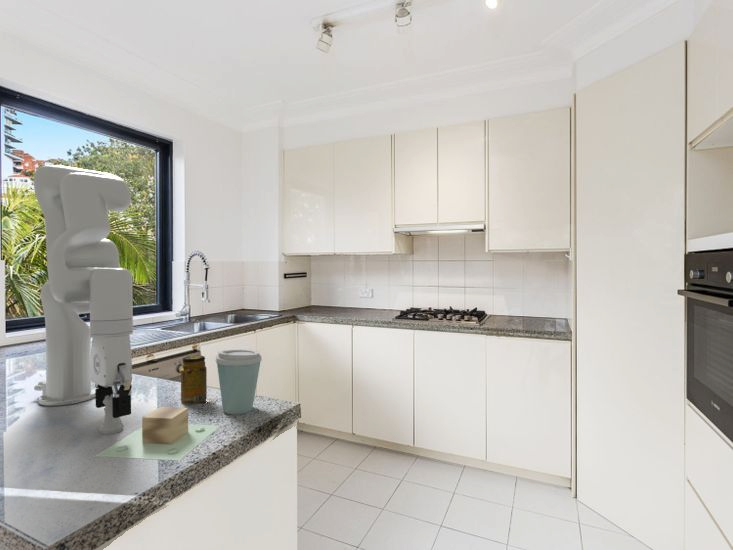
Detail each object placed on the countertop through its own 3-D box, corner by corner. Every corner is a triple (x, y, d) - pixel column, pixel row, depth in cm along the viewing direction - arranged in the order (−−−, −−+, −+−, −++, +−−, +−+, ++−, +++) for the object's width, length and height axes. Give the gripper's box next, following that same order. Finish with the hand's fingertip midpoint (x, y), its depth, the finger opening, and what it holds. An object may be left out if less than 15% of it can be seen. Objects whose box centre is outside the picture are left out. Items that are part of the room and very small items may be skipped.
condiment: (184, 399, 107) (184, 354, 107) (218, 399, 108) (218, 353, 108) (174, 409, 100) (174, 360, 100) (210, 408, 101) (210, 360, 101)
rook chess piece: (102, 431, 86) (102, 393, 86) (126, 428, 88) (126, 391, 88) (96, 440, 82) (96, 400, 82) (122, 437, 84) (122, 398, 83)
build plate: (94, 460, 73) (94, 454, 73) (149, 425, 89) (149, 420, 89) (179, 465, 72) (179, 458, 72) (220, 429, 88) (220, 424, 88)
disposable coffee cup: (235, 403, 105) (235, 344, 105) (270, 408, 101) (271, 348, 101) (204, 417, 95) (205, 352, 95) (242, 424, 91) (243, 356, 91)
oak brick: (142, 443, 79) (142, 417, 79) (160, 430, 85) (160, 406, 85) (171, 444, 78) (171, 418, 78) (188, 431, 84) (188, 407, 84)
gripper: (77, 326, 87) (78, 407, 87) (106, 333, 76) (107, 426, 76) (116, 323, 93) (117, 398, 93) (148, 329, 82) (149, 415, 82)
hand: (112, 410), depth 84 cm, fingers open, 9 cm apart
